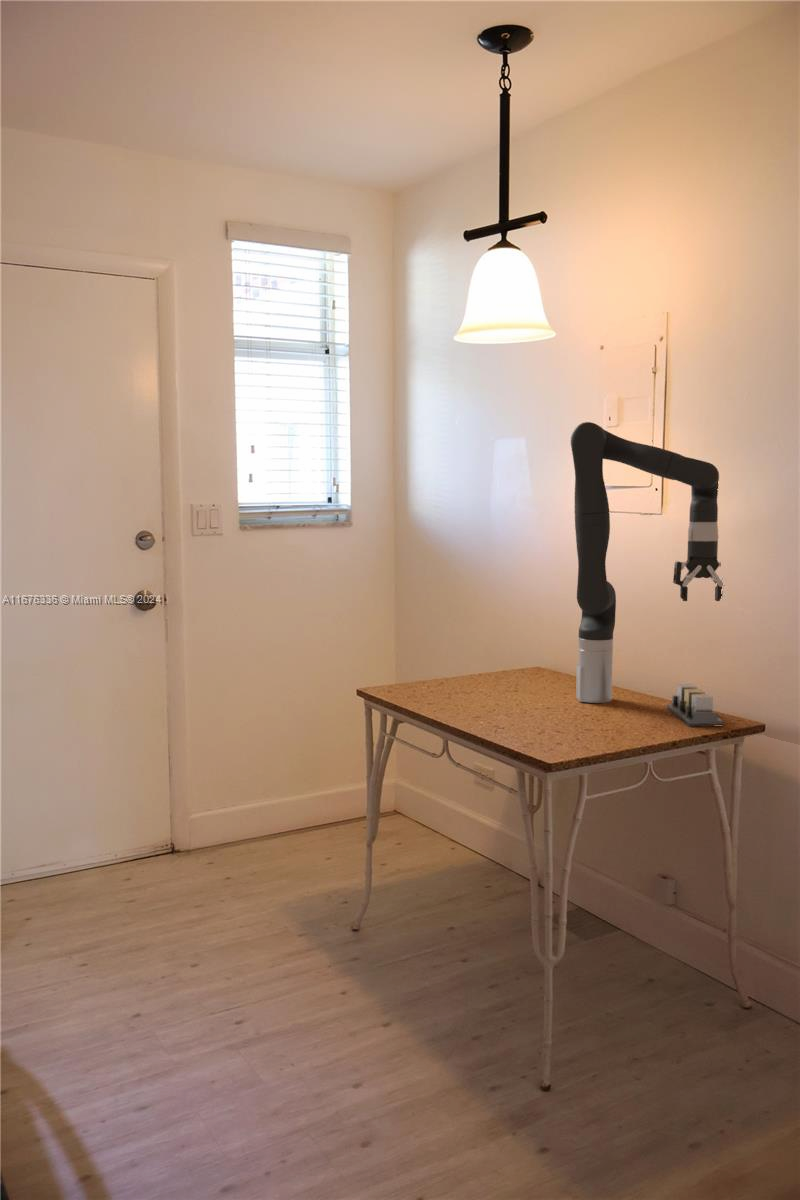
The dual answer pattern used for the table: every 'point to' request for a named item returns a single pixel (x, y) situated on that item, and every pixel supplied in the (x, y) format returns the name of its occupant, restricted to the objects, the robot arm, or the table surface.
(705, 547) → the robot arm
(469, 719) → the table surface
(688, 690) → the tan rectangular block
